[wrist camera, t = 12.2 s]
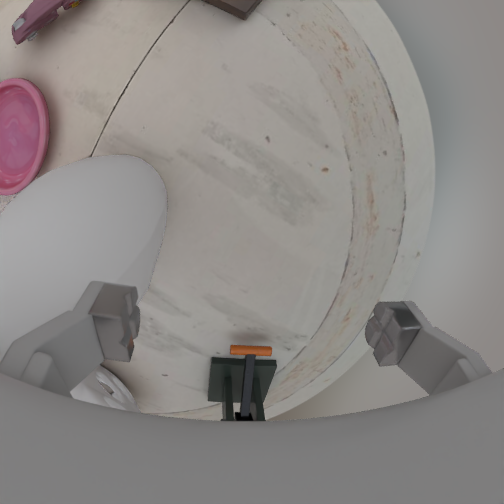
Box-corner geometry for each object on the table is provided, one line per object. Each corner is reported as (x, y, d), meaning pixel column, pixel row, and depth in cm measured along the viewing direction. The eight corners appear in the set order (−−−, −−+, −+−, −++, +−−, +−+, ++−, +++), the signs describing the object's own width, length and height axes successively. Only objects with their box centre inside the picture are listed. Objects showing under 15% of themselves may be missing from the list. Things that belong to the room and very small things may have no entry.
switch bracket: (211, 357, 37) (211, 418, 28) (275, 360, 38) (287, 418, 29) (207, 395, 41) (207, 447, 32) (262, 397, 42) (269, 448, 34)
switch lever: (229, 342, 34) (231, 347, 32) (269, 344, 35) (273, 349, 32) (223, 427, 33) (224, 436, 31) (258, 428, 34) (262, 436, 32)
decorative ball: (39, 317, 31) (-10, 410, 16) (161, 366, 37) (147, 477, 22) (48, 384, 39) (23, 456, 24) (140, 419, 45) (130, 497, 29)
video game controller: (38, 41, 16) (9, 56, 12) (23, 15, 13) (-8, 26, 9) (112, -10, 16) (95, -10, 12) (97, -38, 12) (77, -44, 8)
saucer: (66, 70, 18) (50, 68, 15) (60, 188, 24) (44, 197, 21) (-10, 88, 16) (-27, 90, 14) (-11, 187, 22) (-27, 195, 19)
